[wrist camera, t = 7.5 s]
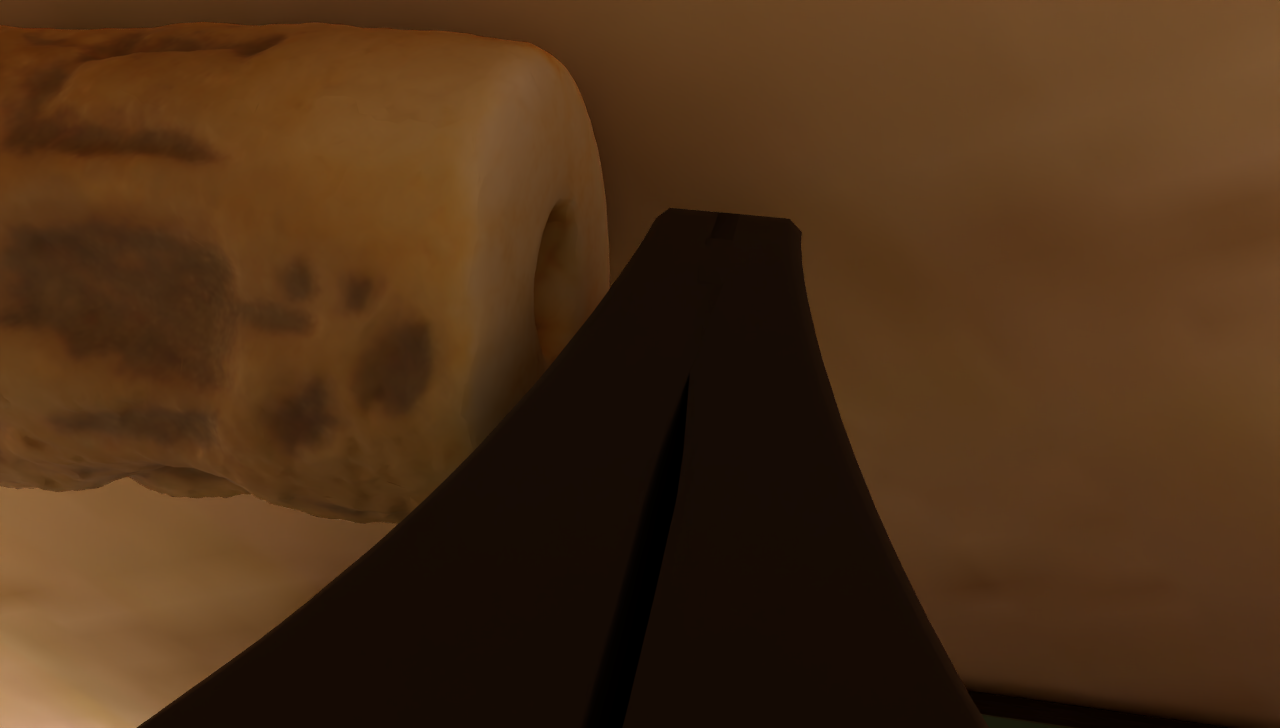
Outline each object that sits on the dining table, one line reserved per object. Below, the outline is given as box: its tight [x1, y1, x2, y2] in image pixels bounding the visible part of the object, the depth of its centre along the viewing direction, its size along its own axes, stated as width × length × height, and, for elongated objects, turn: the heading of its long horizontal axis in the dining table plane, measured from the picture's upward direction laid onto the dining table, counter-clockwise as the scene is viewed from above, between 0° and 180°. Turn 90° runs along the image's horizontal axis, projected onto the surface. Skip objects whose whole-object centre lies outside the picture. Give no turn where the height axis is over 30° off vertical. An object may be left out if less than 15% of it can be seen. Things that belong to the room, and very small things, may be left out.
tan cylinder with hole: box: [0, 22, 610, 524], centre depth 10 cm, size 8×4×4 cm, turn 97°
